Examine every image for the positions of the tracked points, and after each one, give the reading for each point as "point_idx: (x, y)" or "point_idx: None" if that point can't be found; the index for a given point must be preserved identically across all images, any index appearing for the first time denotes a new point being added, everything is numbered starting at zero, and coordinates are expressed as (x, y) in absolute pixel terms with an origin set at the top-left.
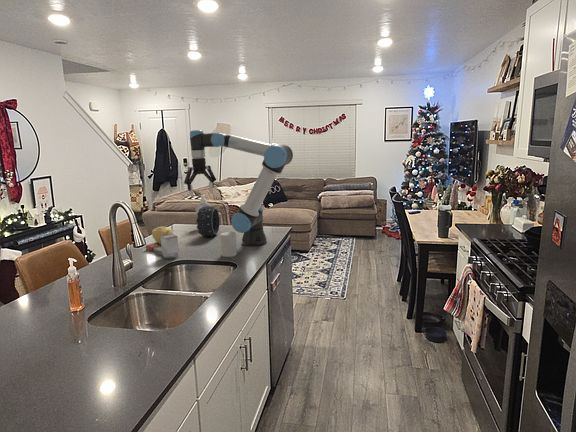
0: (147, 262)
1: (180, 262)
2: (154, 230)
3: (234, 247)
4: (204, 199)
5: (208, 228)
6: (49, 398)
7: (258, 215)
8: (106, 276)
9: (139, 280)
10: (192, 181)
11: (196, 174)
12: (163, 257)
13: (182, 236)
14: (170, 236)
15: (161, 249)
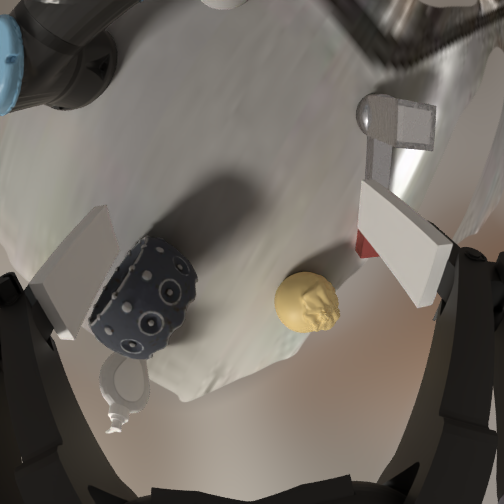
0: None
1: (382, 46)
2: (335, 316)
3: None
4: (114, 414)
5: (163, 243)
6: None
7: None
8: (501, 121)
9: (479, 38)
10: (458, 285)
11: (461, 431)
12: None
13: (225, 312)
14: (416, 116)
15: (381, 178)
